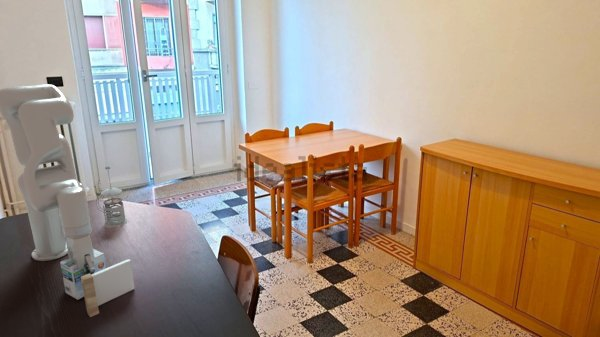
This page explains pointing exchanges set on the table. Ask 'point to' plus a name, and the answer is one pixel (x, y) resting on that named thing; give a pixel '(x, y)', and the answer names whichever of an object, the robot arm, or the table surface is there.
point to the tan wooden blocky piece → (90, 295)
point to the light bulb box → (79, 274)
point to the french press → (116, 218)
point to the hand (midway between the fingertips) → (86, 279)
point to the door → (113, 281)
